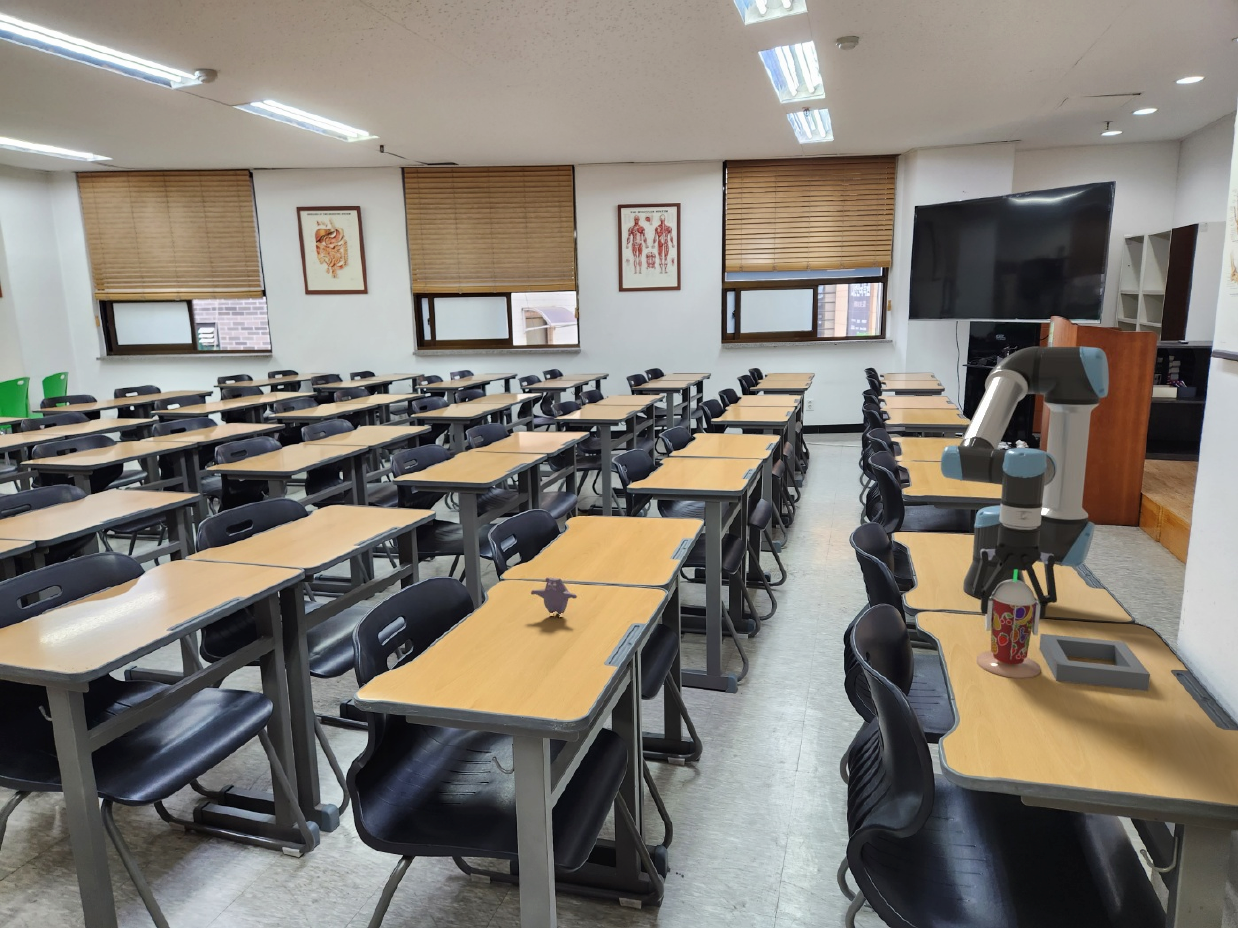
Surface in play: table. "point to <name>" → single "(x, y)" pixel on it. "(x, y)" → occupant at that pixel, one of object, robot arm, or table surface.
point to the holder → (1120, 676)
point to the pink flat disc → (1008, 666)
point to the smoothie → (1011, 620)
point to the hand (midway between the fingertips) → (1010, 630)
